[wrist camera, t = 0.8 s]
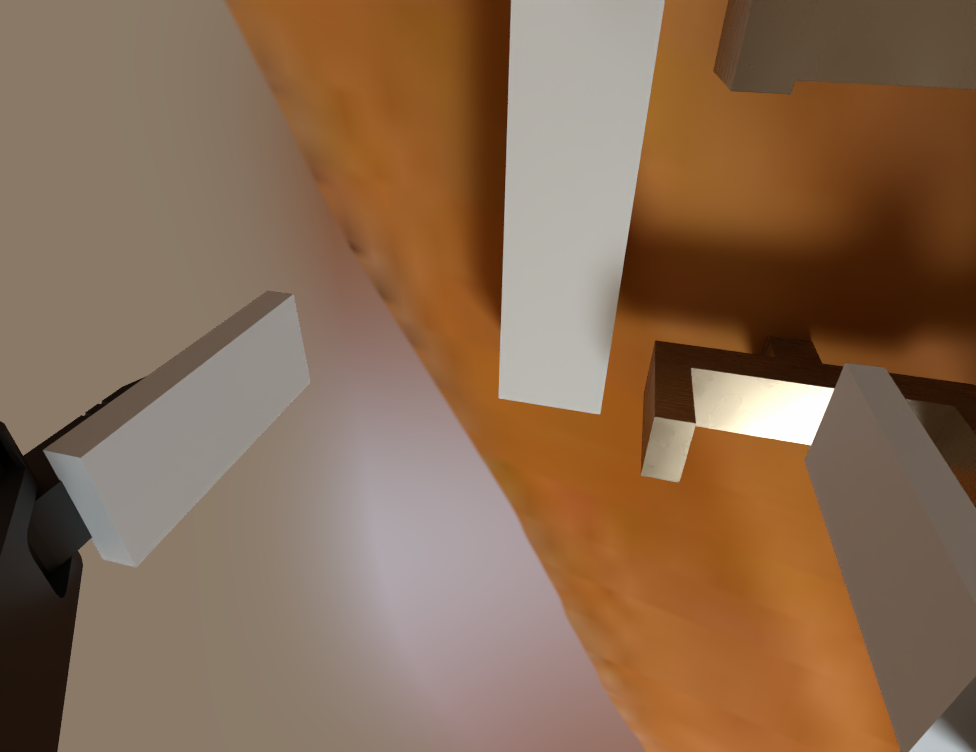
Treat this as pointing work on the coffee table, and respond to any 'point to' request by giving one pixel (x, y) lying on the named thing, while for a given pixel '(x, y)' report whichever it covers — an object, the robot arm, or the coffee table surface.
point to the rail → (570, 189)
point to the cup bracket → (795, 363)
